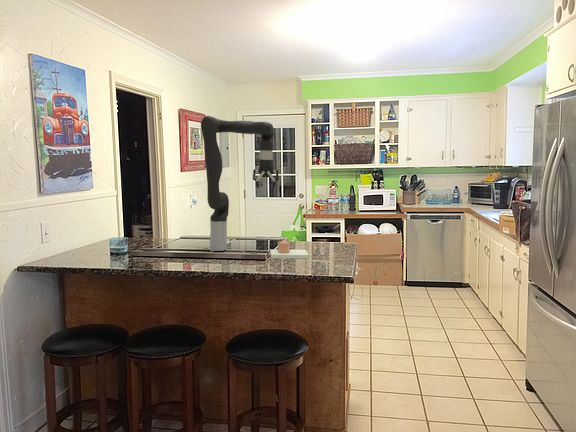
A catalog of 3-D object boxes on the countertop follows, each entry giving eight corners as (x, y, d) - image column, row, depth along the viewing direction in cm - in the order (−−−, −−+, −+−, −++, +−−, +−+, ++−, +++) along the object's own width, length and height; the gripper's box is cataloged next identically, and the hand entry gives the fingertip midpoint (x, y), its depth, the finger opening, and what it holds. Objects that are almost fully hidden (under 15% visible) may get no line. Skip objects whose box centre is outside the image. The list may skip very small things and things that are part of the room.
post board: (271, 258, 254) (271, 247, 253) (270, 252, 268) (270, 242, 267) (308, 258, 256) (309, 247, 255) (305, 253, 270) (305, 242, 269)
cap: (286, 253, 258) (286, 243, 257) (276, 252, 260) (276, 242, 259) (291, 251, 263) (291, 241, 262) (281, 250, 266) (281, 240, 265)
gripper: (253, 158, 259) (252, 188, 262) (279, 159, 261) (278, 189, 263) (252, 158, 267) (252, 187, 269) (278, 159, 268) (277, 187, 270)
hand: (265, 188), depth 266 cm, fingers open, 8 cm apart
